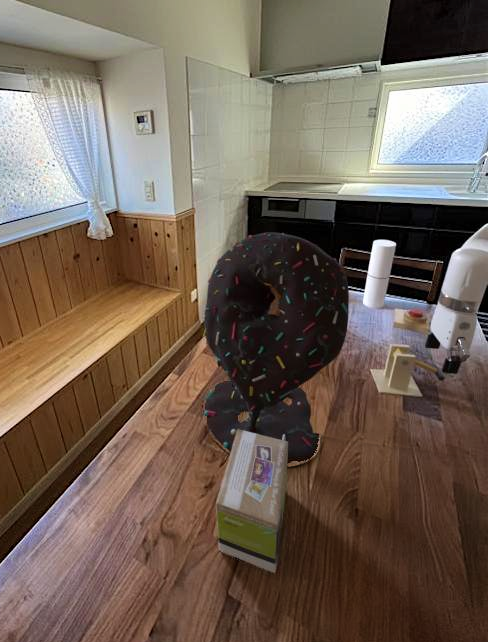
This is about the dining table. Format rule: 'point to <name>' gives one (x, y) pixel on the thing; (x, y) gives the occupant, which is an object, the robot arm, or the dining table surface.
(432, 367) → the switch lever
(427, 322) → the button block
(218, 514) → the tea box
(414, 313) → the lamp button
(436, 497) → the dining table surface
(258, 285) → the chocolate sprinkled donut
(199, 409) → the dining table surface
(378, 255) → the cylindrical container
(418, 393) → the switch bracket
